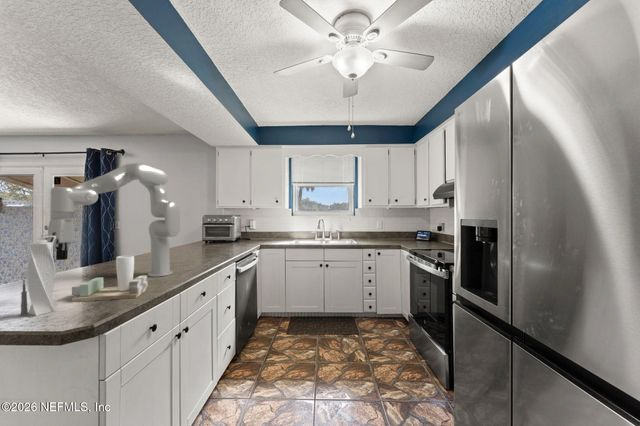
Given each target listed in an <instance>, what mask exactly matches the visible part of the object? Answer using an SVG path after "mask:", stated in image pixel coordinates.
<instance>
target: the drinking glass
mask: <svg viewBox="0 0 640 426" xmlns="http://www.w3.org/2000/svg"><path fill="white" fill-rule="evenodd" d="M115 269H116V270H115V271H116V278H117V287H118V290H119V291H128V290H129V282H131V281H132V280H134V274H135V273H134V272H135V255H133V254H132V255H119V256H116V258H115Z"/></svg>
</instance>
